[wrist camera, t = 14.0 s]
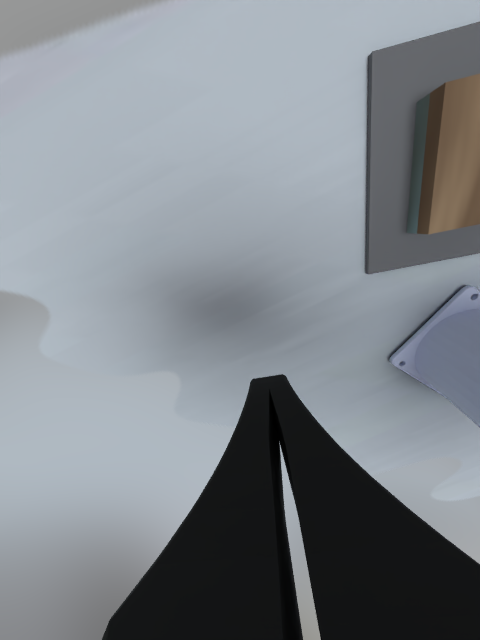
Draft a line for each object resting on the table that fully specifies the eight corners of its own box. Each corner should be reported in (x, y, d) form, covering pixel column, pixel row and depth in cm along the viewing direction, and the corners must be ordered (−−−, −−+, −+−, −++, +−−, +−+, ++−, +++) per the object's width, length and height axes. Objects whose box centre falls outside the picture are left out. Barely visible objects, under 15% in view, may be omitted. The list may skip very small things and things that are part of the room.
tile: (416, 102, 13) (514, 77, 12) (406, 232, 16) (486, 216, 15) (445, 82, 11) (561, 52, 11) (428, 234, 14) (519, 215, 13)
